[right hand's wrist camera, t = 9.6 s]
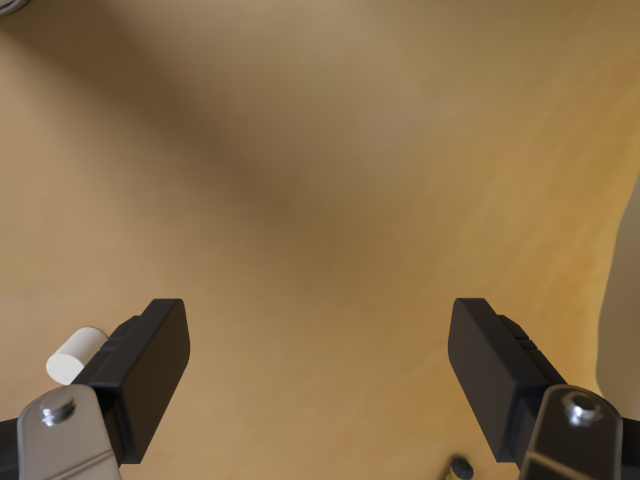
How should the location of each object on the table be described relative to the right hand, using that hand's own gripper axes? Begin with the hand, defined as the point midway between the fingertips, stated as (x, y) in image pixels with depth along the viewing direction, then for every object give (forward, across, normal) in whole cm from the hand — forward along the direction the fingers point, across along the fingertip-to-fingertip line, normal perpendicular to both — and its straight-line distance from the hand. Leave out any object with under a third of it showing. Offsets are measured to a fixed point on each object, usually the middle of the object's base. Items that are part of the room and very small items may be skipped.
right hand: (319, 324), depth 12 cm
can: (+25, -24, -19) cm, 39 cm away
